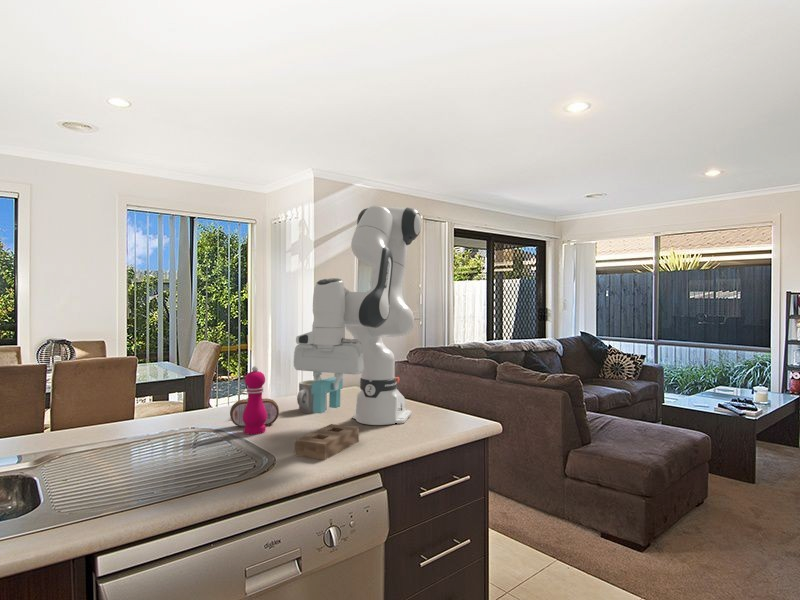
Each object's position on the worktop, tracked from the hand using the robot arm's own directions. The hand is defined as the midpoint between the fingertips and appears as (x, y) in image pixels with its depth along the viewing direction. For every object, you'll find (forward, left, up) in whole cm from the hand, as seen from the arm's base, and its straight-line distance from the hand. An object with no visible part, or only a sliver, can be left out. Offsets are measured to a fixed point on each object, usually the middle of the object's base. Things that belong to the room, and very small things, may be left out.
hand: (327, 388), depth 136 cm
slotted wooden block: (0, 0, -16) cm, 16 cm away
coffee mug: (-36, -30, -16) cm, 50 cm away
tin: (-11, -34, -17) cm, 39 cm away
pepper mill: (-5, -29, -16) cm, 34 cm away
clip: (0, 0, -6) cm, 6 cm away
